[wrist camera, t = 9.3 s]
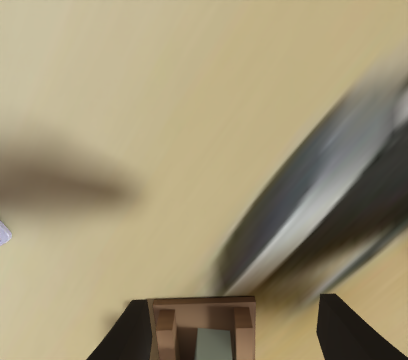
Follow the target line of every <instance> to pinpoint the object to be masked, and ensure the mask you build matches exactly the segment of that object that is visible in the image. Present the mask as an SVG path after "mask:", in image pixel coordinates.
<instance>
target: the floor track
mask: <svg viewBox="0 0 408 360" xmlns="http://www.w3.org/2000/svg"><path fill="white" fill-rule="evenodd" d="M153 309H154V317H155V324H156V336H157V343H158V350H159V358H160V360H194V356H195V347H196V339H197V331H198V328H205V329H216V330H228V331H230V338H231V349H232V360H255V318H256V301H255V297H223V298H191V299H159V300H154V303H153Z"/></svg>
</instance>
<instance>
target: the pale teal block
mask: <svg viewBox="0 0 408 360" xmlns="http://www.w3.org/2000/svg"><path fill="white" fill-rule="evenodd" d="M194 360H232V349H231V338H230V331H228V330H216V329H205V328H198V331H197V339H196V347H195V356H194Z"/></svg>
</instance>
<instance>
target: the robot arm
mask: <svg viewBox="0 0 408 360" xmlns="http://www.w3.org/2000/svg"><path fill="white" fill-rule="evenodd" d="M11 238H12V233H11V232H10V231H9V229H8V228H7V227H6V226H5V225H4V224H3V223H2V222H1V221H0V246H1V245H2V244H4V243H6V242H7V241H9V240H10V239H11ZM316 333H317V336H318V339H319V343H320V346H321V349H322V352H323V355H324V358H325V360H408V357H406V356H405V355H404V354H403V353H401V352H400V351H399V350H398V349H396V348H395V347H394V346H393V345H391V344H390V343H389V342H388V341H387V340H385V339H384V338H383V337H382V336H381V335H380V334H378V333H377V332H376V331H375V330H374V329H373V328H372V327H371V326H369V325H368V324H367V323H366V322H365V321H364V320H363V319H362V318H361V317H360V316H359V315H358V314H356V313H355V312H354V311H353V310H352V309H351V308H350V307H349V306H348V305H347V304H346V303H345V302H344V301H343V300H342V299H341V298H339V297H338V296H337V295H336V294H320V302H319V312H318V321H317V331H316ZM151 344H152V331H151V323H150V316H149V309H148V302H147V300H132V301H131V302H130V304H129V305H128V307H127V308H126V309H125V311H124V312H123V314H122V315H121V316H120V318H119V319H118V321H117V322H116V323H115V325H114V326H113V327H112V329H111V330H110V331H109V333H108V334H107V335H106V336H105V338H104V339H103V340H102V342H101V343H100V344H99V345H98V346H97V348H96V349H95V350H94V351H93V352H92V353H91V355H90V356H89V357H88V358H87V359H86V360H149V358H150V351H151Z"/></svg>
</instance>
